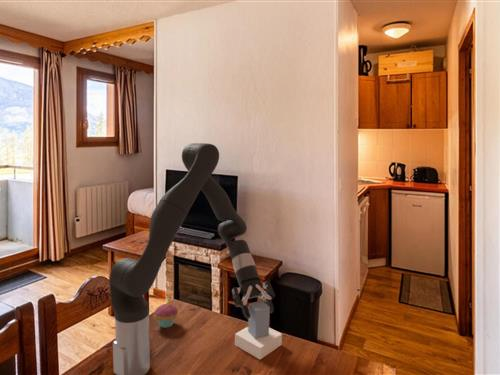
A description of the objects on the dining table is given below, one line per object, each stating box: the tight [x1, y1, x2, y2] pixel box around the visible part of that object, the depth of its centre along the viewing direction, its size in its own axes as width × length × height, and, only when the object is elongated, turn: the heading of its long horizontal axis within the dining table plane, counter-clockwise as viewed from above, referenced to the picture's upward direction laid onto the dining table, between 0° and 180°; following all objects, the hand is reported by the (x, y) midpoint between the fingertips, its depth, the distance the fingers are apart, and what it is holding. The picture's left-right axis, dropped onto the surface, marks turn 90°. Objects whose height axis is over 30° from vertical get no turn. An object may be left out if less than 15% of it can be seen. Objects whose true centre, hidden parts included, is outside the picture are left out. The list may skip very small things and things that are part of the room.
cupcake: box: [153, 291, 179, 329], centre depth 126 cm, size 9×8×12 cm
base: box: [234, 326, 283, 361], centre depth 116 cm, size 11×11×4 cm
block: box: [247, 300, 271, 339], centre depth 115 cm, size 5×5×10 cm
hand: (260, 315), depth 114 cm, fingers open, 8 cm apart
